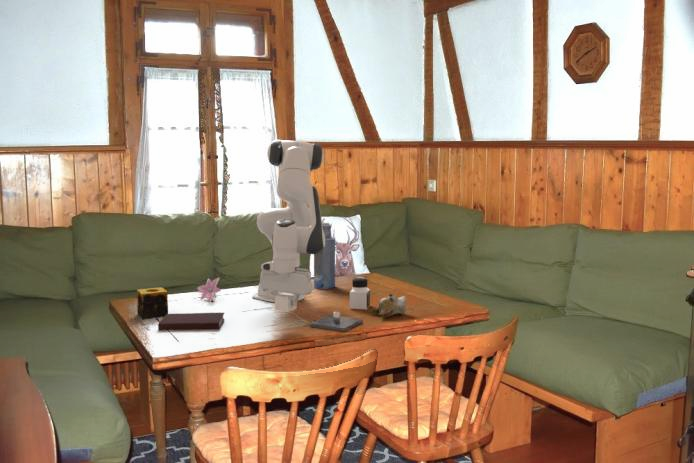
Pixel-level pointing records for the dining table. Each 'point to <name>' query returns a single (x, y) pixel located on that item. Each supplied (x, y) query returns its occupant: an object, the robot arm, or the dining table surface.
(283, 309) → the cream rectangular prism
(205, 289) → the lily
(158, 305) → the yellow holed cube
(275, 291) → the robot arm
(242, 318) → the dining table surface
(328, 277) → the grey elongated piece
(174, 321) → the book
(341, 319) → the post plate
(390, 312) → the ceramic sculpture
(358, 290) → the medicine bottle
